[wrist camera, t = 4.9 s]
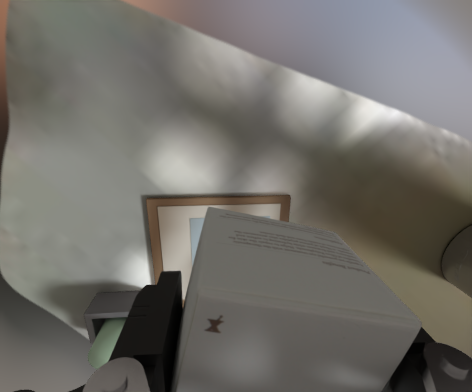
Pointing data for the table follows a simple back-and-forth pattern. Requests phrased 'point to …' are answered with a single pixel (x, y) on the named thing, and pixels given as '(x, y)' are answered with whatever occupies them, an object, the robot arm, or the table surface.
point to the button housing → (107, 310)
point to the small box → (285, 312)
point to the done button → (105, 341)
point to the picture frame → (197, 226)
